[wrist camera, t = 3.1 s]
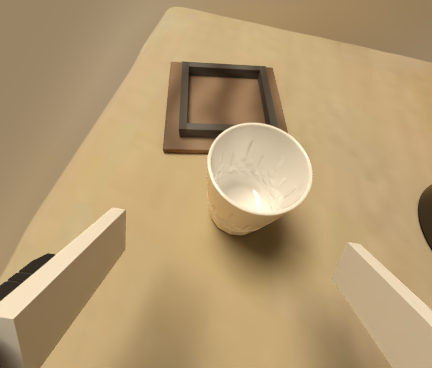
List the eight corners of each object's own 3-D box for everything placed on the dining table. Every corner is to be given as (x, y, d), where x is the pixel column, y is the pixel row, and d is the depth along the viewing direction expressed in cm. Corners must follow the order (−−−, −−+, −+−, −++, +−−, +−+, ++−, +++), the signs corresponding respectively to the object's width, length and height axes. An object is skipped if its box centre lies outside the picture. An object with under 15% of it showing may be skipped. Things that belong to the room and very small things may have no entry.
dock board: (271, 72, 35) (275, 59, 33) (289, 154, 28) (297, 144, 26) (171, 66, 33) (169, 52, 31) (163, 152, 26) (161, 141, 24)
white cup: (267, 180, 26) (305, 127, 17) (271, 243, 22) (321, 219, 13) (206, 175, 25) (211, 117, 16) (200, 238, 22) (203, 210, 13)
